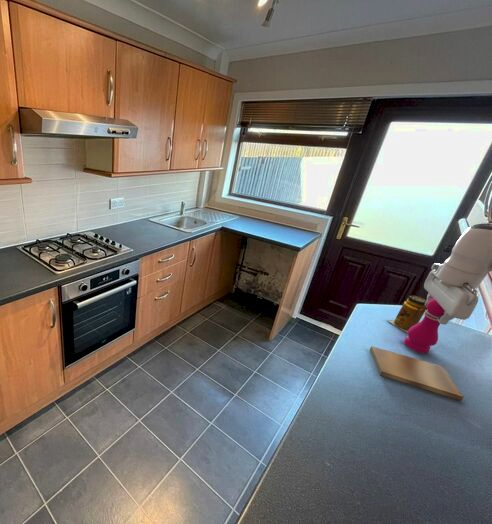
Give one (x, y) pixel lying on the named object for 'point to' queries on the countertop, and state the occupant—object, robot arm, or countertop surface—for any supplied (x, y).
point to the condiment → (410, 313)
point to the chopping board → (415, 372)
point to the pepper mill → (425, 329)
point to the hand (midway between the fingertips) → (434, 314)
